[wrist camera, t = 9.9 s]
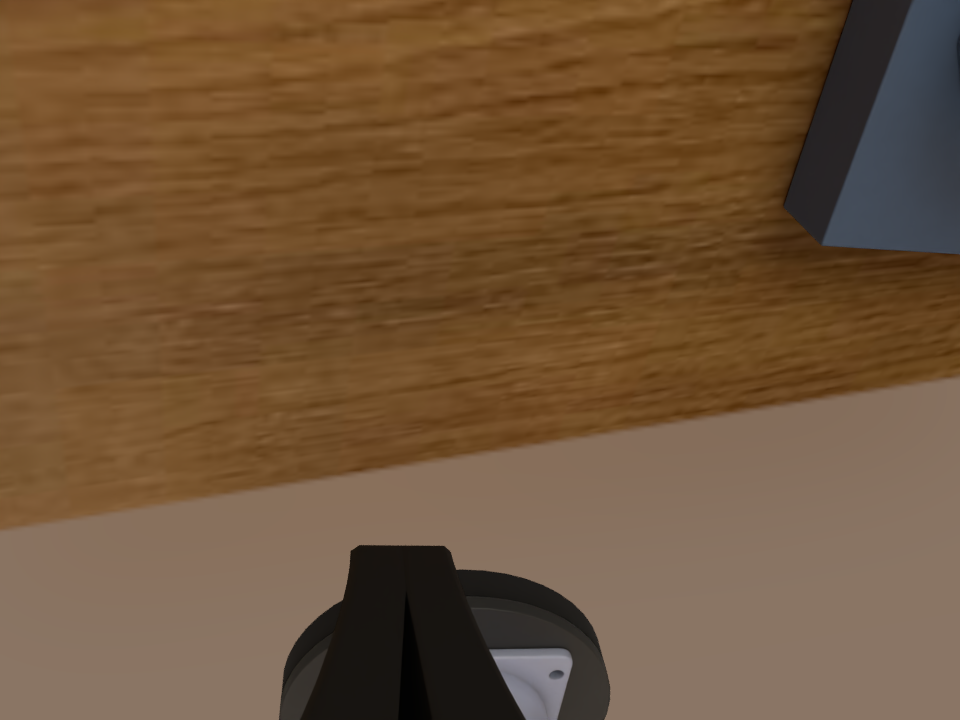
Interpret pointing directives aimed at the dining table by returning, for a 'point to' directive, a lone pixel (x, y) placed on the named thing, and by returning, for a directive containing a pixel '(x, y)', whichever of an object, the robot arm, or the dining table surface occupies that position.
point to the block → (887, 133)
